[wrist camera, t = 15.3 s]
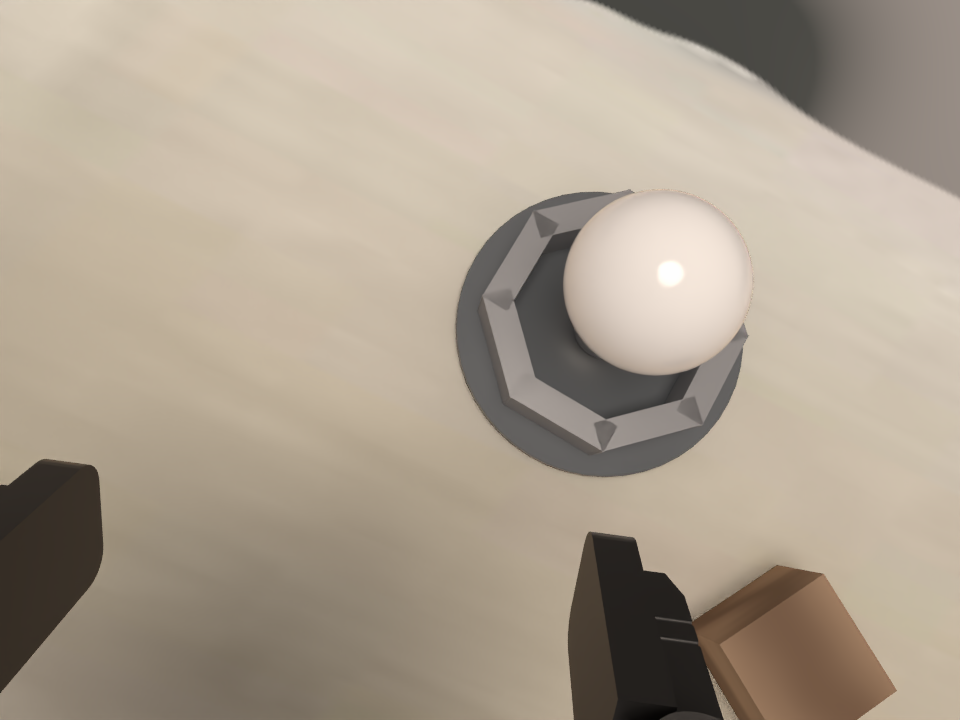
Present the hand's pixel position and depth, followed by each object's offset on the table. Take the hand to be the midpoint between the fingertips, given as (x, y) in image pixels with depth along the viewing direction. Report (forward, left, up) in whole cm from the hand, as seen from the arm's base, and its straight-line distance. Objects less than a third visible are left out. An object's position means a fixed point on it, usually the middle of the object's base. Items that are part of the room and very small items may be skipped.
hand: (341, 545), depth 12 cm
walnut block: (+14, -9, -20) cm, 26 cm away
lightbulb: (+11, +5, -20) cm, 23 cm away
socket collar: (+11, +6, -20) cm, 24 cm away
